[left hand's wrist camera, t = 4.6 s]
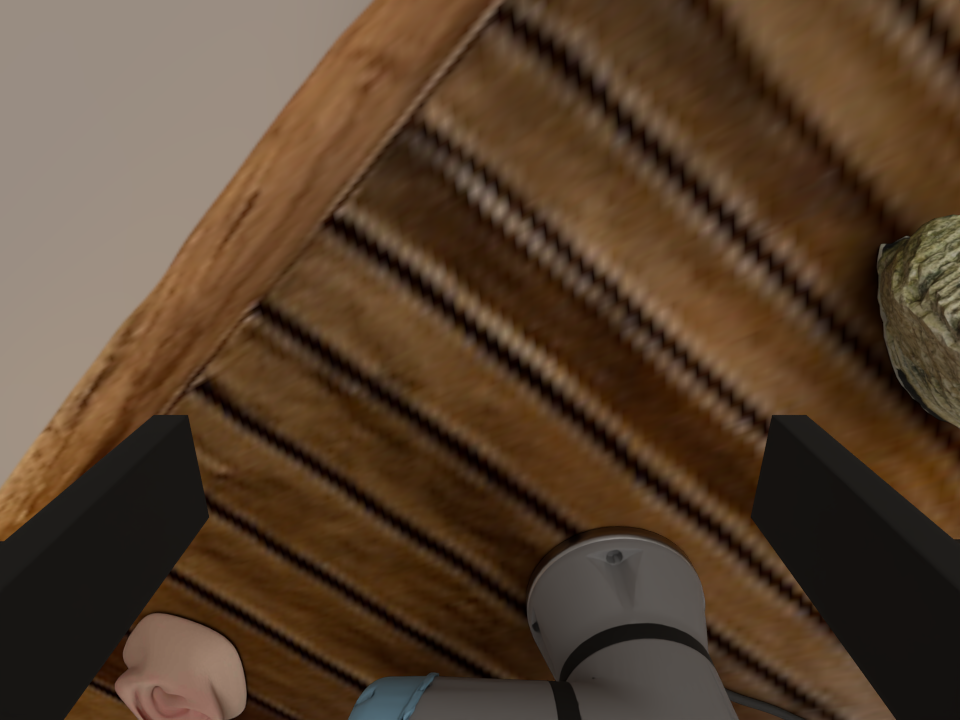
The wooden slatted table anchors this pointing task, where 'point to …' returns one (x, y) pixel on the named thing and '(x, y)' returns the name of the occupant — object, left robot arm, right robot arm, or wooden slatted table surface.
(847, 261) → the wooden slatted table surface
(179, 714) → the anatomical model
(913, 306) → the fossil
